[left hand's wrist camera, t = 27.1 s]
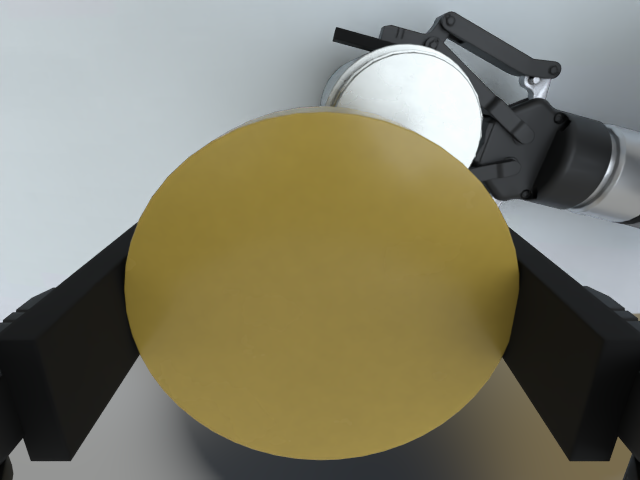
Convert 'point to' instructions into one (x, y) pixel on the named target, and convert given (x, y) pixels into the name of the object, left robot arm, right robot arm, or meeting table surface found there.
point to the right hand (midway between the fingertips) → (319, 99)
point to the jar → (413, 95)
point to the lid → (321, 284)
